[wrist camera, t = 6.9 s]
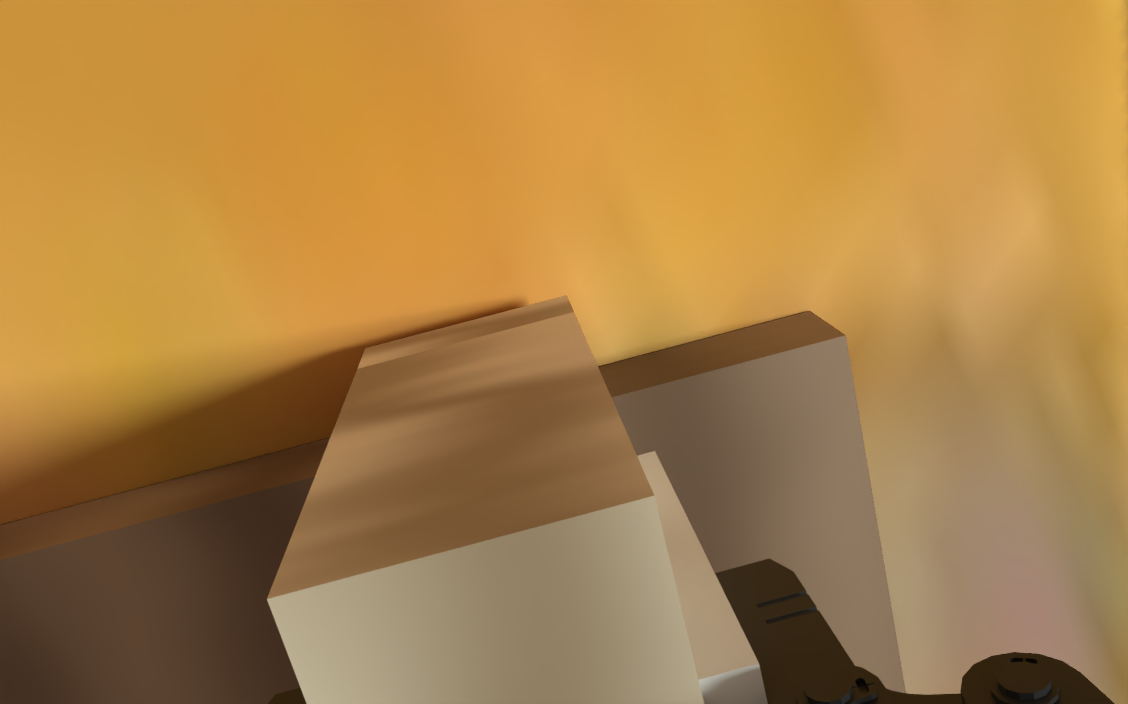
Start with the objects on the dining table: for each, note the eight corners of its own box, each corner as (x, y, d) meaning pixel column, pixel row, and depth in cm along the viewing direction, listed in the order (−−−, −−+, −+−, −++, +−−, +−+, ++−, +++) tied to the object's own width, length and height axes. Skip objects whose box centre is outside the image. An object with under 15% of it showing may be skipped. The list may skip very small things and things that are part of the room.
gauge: (473, 685, 21) (474, 1239, 11) (365, 348, 19) (243, 656, 9) (652, 636, 21) (816, 1142, 11) (566, 295, 19) (674, 540, 9)
